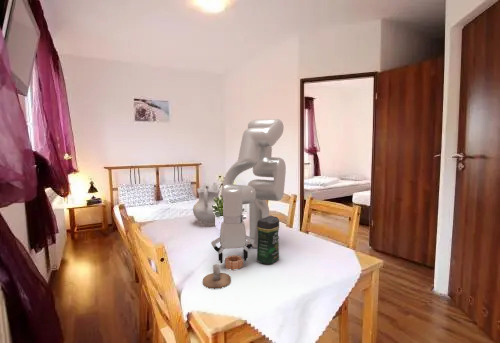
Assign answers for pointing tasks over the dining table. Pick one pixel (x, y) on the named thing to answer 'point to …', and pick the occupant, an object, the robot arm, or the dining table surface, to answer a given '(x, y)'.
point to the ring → (233, 262)
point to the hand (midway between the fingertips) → (233, 261)
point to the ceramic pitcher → (206, 204)
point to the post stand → (216, 278)
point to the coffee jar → (268, 240)
